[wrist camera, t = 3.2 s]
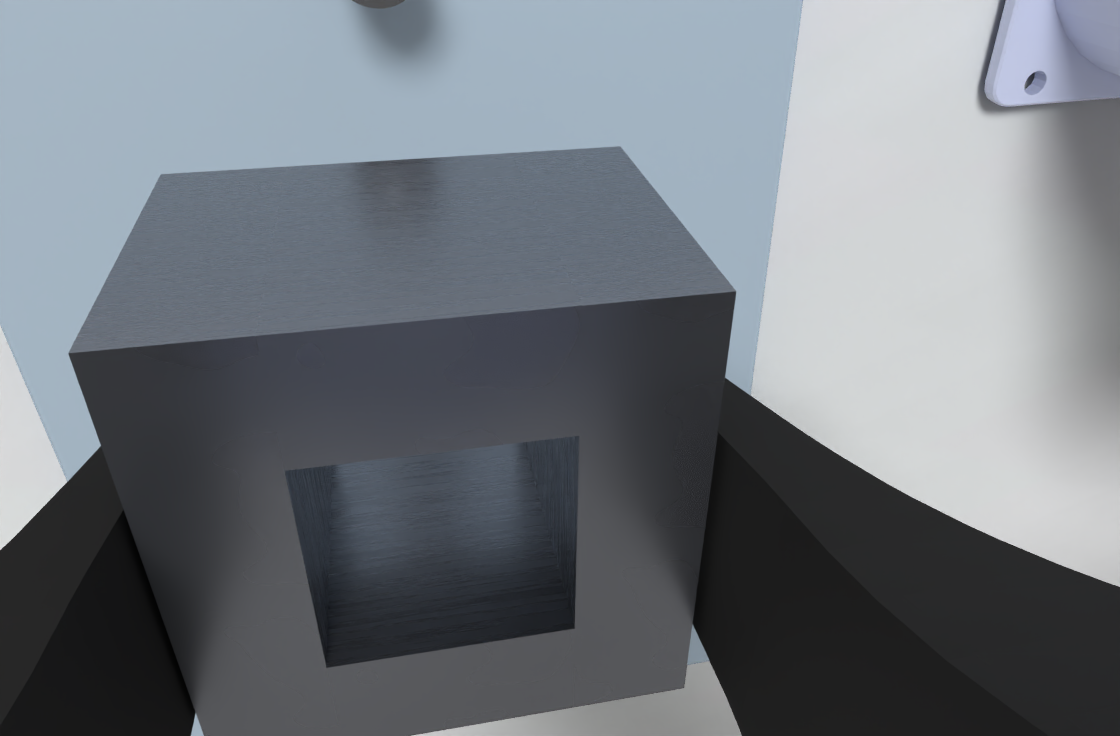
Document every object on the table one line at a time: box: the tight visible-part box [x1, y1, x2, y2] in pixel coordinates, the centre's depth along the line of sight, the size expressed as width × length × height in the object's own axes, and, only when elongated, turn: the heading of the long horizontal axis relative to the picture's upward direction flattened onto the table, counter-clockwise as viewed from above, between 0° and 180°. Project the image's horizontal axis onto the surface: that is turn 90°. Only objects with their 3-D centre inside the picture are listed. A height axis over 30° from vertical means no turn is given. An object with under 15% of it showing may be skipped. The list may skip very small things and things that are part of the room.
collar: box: [68, 146, 736, 736], centre depth 10 cm, size 6×6×4 cm
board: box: [0, 0, 803, 736], centre depth 19 cm, size 16×26×1 cm, turn 2°
